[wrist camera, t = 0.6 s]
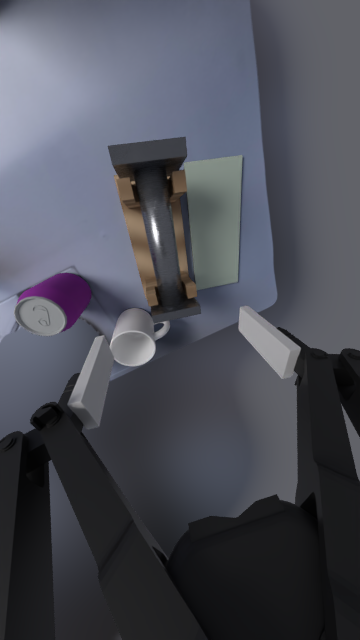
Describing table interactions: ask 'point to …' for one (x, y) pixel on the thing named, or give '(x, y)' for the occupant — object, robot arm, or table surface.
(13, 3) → the table surface
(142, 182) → the rod
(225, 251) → the mat
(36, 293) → the beverage can
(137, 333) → the mug
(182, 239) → the cradle
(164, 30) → the table surface
